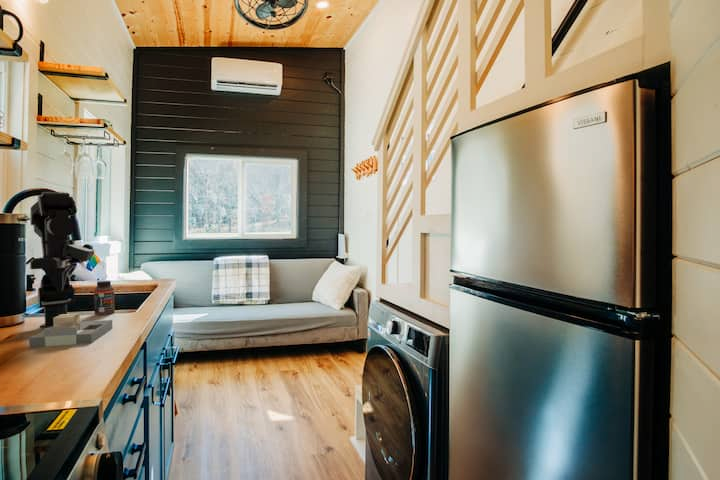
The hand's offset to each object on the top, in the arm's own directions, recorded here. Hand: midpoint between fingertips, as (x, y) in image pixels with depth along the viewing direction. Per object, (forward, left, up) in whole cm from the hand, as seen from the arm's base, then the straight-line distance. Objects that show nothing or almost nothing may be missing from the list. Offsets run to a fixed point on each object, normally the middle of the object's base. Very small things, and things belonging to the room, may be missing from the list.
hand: (60, 290), depth 122 cm
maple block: (+11, +6, -10) cm, 16 cm away
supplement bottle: (-25, +3, -12) cm, 28 cm away
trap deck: (+7, +6, -12) cm, 15 cm away
